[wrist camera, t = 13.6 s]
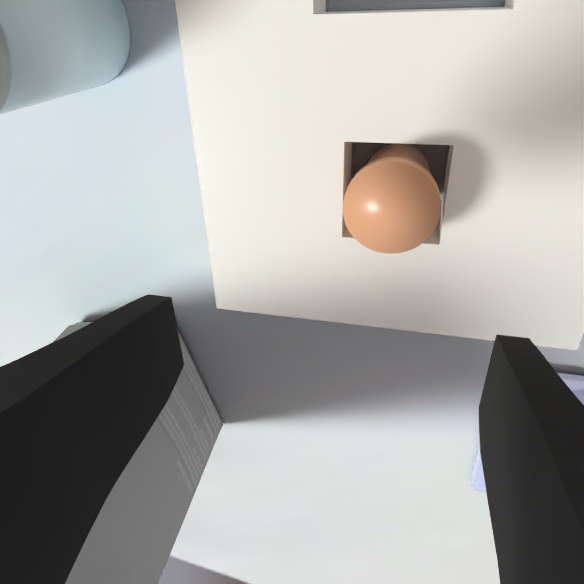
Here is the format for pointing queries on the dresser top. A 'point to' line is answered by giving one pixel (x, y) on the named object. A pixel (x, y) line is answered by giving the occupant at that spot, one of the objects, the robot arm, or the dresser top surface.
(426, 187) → the tan round piece
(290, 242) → the housing
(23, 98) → the cup
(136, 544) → the skincare box
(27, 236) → the dresser top surface
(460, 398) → the dresser top surface
